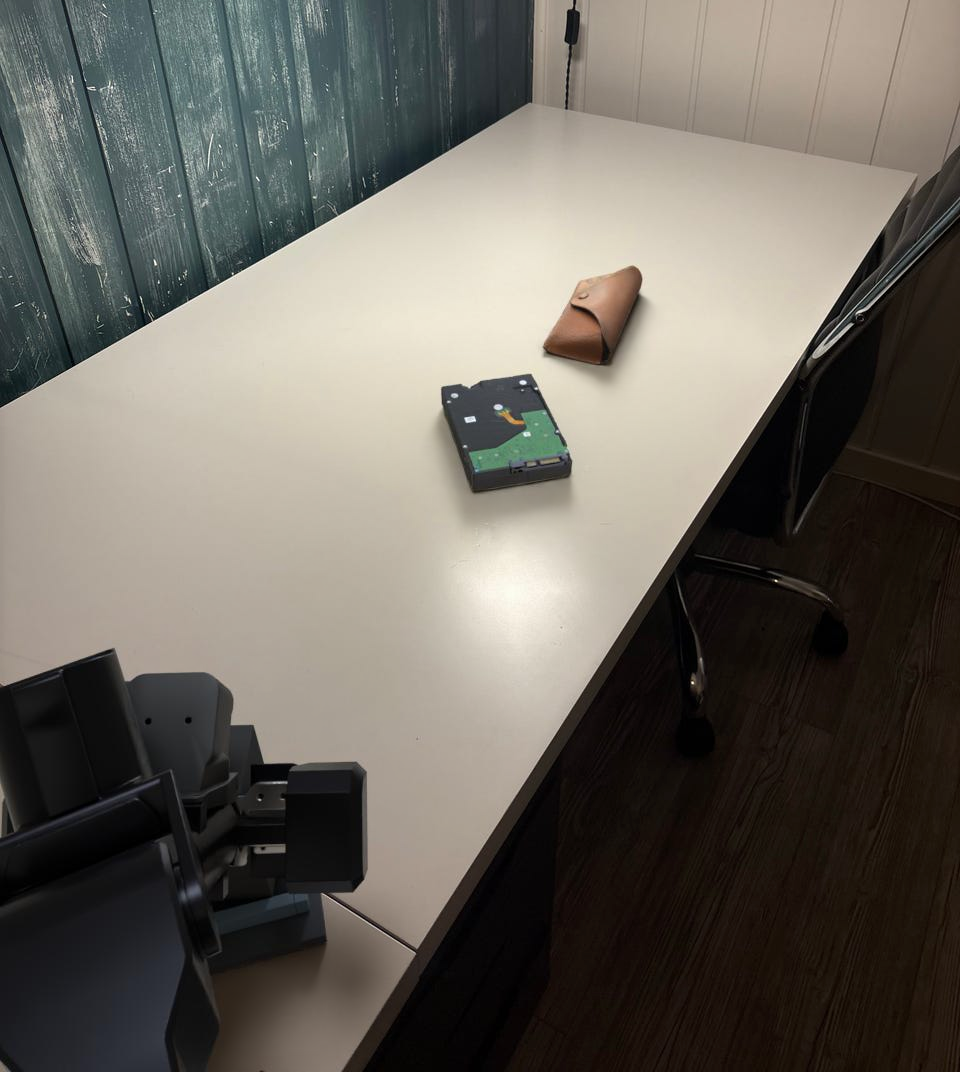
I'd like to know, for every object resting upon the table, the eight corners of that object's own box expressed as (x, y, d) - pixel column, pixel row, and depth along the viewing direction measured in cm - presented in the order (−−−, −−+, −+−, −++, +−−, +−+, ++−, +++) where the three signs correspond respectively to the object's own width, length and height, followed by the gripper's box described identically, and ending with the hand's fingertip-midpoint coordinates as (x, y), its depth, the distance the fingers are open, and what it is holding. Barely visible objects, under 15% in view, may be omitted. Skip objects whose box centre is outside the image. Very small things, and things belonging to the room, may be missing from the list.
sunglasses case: (577, 277, 123) (606, 240, 119) (620, 308, 124) (651, 273, 120) (539, 350, 110) (569, 313, 106) (588, 385, 111) (620, 349, 106)
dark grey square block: (272, 898, 60) (240, 794, 52) (201, 900, 60) (158, 796, 52) (283, 830, 63) (253, 724, 56) (215, 832, 63) (177, 726, 56)
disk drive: (439, 407, 103) (472, 495, 92) (438, 386, 101) (471, 473, 90) (530, 392, 105) (574, 476, 93) (531, 371, 103) (575, 454, 92)
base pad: (327, 942, 59) (323, 924, 58) (180, 983, 58) (171, 966, 56) (306, 787, 68) (301, 768, 66) (176, 819, 66) (169, 799, 64)
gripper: (345, 691, 44) (379, 652, 59) (-59, 700, 44) (81, 659, 59) (347, 944, 43) (381, 837, 58) (-70, 955, 43) (76, 845, 58)
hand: (229, 789), depth 58 cm, fingers closed on dark grey square block, 4 cm apart
